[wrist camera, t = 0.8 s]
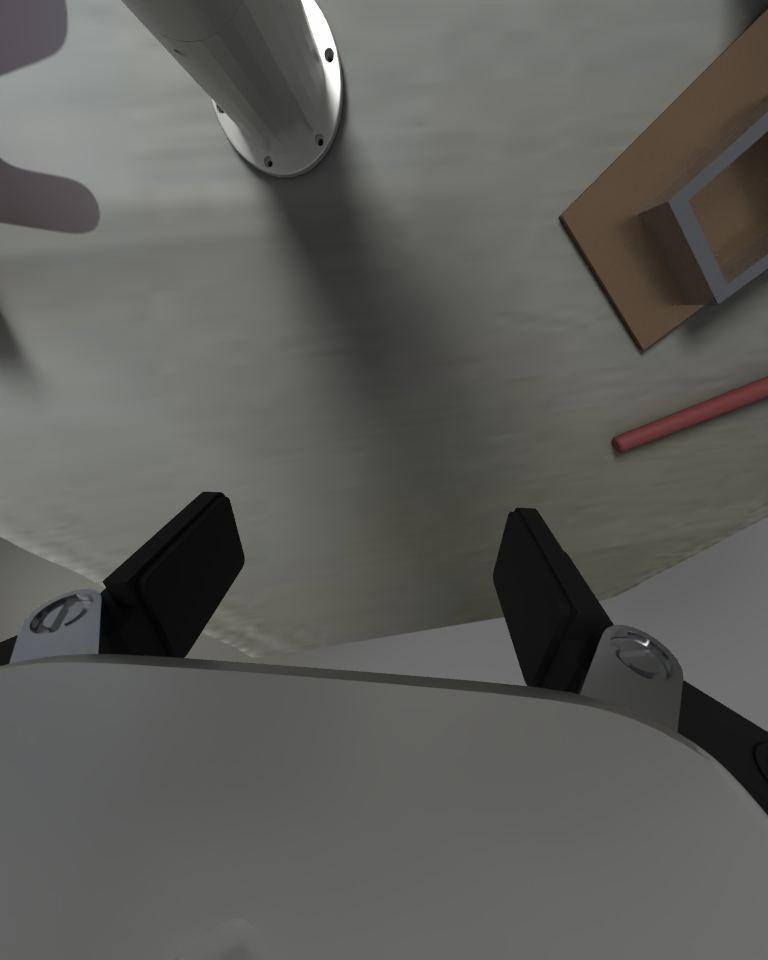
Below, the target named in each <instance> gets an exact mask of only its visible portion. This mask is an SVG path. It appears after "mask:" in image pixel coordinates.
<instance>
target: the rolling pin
mask: <svg viewBox="0 0 768 960" xmlns="http://www.w3.org/2000/svg"><path fill="white" fill-rule="evenodd" d="M766 397H768V376H767V377H765V378H762V379H760V380H757V381H755V382H752V383H750V384H747V385H745V386H742V387H740V388H737V389H735V390H732V391H730V392H727V393H725V394H722V395H719V396H717V397H714V398H712V399H709V400H707V401H704V402H702V403H699V404H697V405H694V406H692V407H689V408H687V409H684V410H682V411H679V412H677V413H674V414H672V415H669V416H666V417H664V418H661V419H659V420H656V421H654V422H651V423H649V424H646V425H644V426H641V427H639V428H636V429H634V430H631V431H629V432H626V433H624V434H621V435H619V436H616V437H614V438H613V440H612V443H613V446H614V448H615V449H616V450H617V451H619V452H624V451H627V450H629V449H632V448H634V447H637V446H640V445H642V444H645V443H648V442H650V441H653V440H655V439H658V438H661V437H663V436H666V435H669V434H671V433H674V432H676V431H679V430H682V429H684V428H687V427H689V426H692V425H695V424H697V423H700V422H703V421H705V420H708V419H710V418H713V417H716V416H718V415H721V414H724V413H726V412H729V411H731V410H734V409H737V408H739V407H742V406H745V405H747V404H750V403H752V402H755V401H758V400H760V399H763V398H766Z"/></svg>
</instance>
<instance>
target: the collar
mask: <svg viewBox="0 0 768 960" xmlns="http://www.w3.org/2000/svg"><path fill="white" fill-rule="evenodd" d="M559 219H560V220H561V222H562V224H563V225H564V227H565V229H566V230H567V232H568V234H569V235H570V237H571V238H572V240H573V242H574V243H575V245H576V247H577V248H578V250H579V251H580V253H581V255H582V256H583V258H584V260H585V261H586V263H587V265H588V266H589V268H590V269H591V271H592V273H593V274H594V276H595V278H596V279H597V281H598V283H599V284H600V286H601V287H602V289H603V291H604V292H605V294H606V296H607V297H608V299H609V300H610V302H611V304H612V305H613V307H614V309H615V310H616V312H617V314H618V315H619V317H620V318H621V320H622V322H623V323H624V325H625V327H626V328H627V330H628V332H629V333H630V335H631V336H632V338H633V340H634V341H635V343H636V345H637V346H638V348H639V349H640V350H645V349H646V348H648V347H649V346H650V345H652V344H653V343H654V342H656V341H657V340H659V339H660V338H661V337H663V336H664V335H665V334H667V333H668V332H669V331H671V330H672V329H673V328H675V327H676V326H677V325H679V324H680V323H681V322H683V321H684V320H685V319H687V318H688V317H689V316H691V315H692V314H693V313H695V312H696V311H697V310H699V309H700V308H702V307H703V306H704V305H718V304H720V303H721V302H723V301H724V300H725V299H727V298H728V297H729V296H731V295H732V294H733V293H735V292H736V291H738V290H739V289H740V288H742V287H743V286H744V285H746V284H747V283H748V282H750V281H751V280H753V279H754V278H755V277H757V276H758V275H759V274H761V273H762V272H763V271H765V270H766V269H768V8H767V9H766V10H765V11H764V12H763V13H762V14H761V15H760V16H759V17H758V18H757V19H756V20H755V21H754V22H753V23H752V24H751V25H750V26H749V27H748V28H747V29H746V30H745V31H744V32H743V33H742V34H741V35H740V36H739V37H738V38H737V39H736V40H735V41H734V42H733V43H732V44H731V45H730V46H729V47H728V48H727V49H726V50H725V51H724V52H723V53H722V54H721V55H720V56H719V57H718V58H717V59H716V60H715V61H714V62H713V63H712V64H711V65H710V66H709V67H708V68H707V69H706V70H705V71H704V72H703V73H702V74H701V75H700V76H699V77H698V78H697V79H696V80H695V81H694V82H693V83H692V84H691V85H690V86H689V87H688V88H687V89H686V90H685V91H684V92H683V93H682V94H681V95H680V96H679V97H678V98H677V99H676V100H675V101H674V102H673V103H672V104H671V105H670V106H669V107H668V108H667V109H666V110H665V111H664V112H663V113H662V114H661V115H660V116H659V117H658V118H657V119H656V120H655V121H654V122H653V123H652V124H651V125H650V126H649V127H648V128H647V129H646V130H645V131H644V132H643V133H642V134H641V135H640V136H639V137H638V138H637V139H636V140H635V141H634V142H633V143H632V144H631V145H630V146H629V147H628V148H627V149H626V150H625V151H624V152H623V153H622V154H621V155H620V156H619V157H618V158H617V159H616V160H615V161H614V162H613V163H612V164H611V165H610V166H609V167H608V168H607V169H606V170H605V171H604V172H603V173H602V174H601V175H600V176H599V177H598V178H597V179H596V180H595V181H594V182H593V183H592V184H591V185H590V186H589V187H588V188H587V189H586V190H585V191H584V192H583V193H582V194H581V195H580V196H579V197H578V198H577V199H576V200H575V201H574V202H573V203H572V204H571V205H570V206H569V207H568V208H567V209H566V210H565V211H564V212H563V213H562V214H561V215H560V216H559Z"/></svg>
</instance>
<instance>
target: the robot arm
mask: <svg viewBox="0 0 768 960" xmlns="http://www.w3.org/2000/svg"><path fill="white" fill-rule="evenodd" d="M122 2H123V3H124V4H125V5H126V6H127V7H128V8H129V9H130V10H131V12H132V13H133V14H134V15H135V16H136V17H137V18H138V19H139V20H140V21H141V22H142V23H143V25H144V26H145V27H146V28H147V29H148V30H149V31H150V32H151V33H152V34H153V35H154V37H155V38H156V39H157V40H158V41H159V42H160V43H161V44H162V45H163V46H164V47H165V48H166V50H167V51H168V52H169V53H170V54H171V55H172V56H173V57H174V58H175V59H176V60H177V61H178V63H179V64H180V65H181V66H182V67H183V68H184V69H185V70H186V71H187V72H188V73H189V74H190V76H191V77H192V78H193V79H194V80H195V81H196V82H197V83H198V84H199V85H200V86H201V87H202V89H203V90H204V91H205V92H206V93H207V94H208V95H209V96H210V98H211V102H212V106H213V109H214V111H215V114H216V116H217V119H218V121H219V124H220V126H221V127H222V129H223V131H224V133H225V134H226V136H227V138H228V140H229V141H230V142H231V144H232V145H233V146H234V147H235V149H236V150H237V151H238V152H239V153H240V154H241V155H242V156H243V157H244V158H245V159H246V160H247V161H248V162H249V163H250V164H252V165H253V166H254V167H255V168H257V169H258V170H260V171H262V172H264V173H266V174H268V175H272V176H275V177H279V178H292V177H295V176H299V175H303V174H304V173H306V172H308V171H310V170H311V169H313V168H314V167H315V166H316V165H317V164H318V163H319V162H320V161H321V160H322V159H323V158H324V156H325V155H326V153H327V152H328V151H329V149H330V147H331V145H332V143H333V141H334V138H335V136H336V134H337V130H338V127H339V123H340V120H341V113H342V105H343V78H342V70H341V62H340V58H339V54H338V50H337V46H336V43H335V40H334V37H333V34H332V31H331V28H330V26H329V24H328V22H327V20H326V18H325V16H324V14H323V12H322V10H321V8H320V7H319V5H318V4H317V3H316V1H315V0H122ZM330 59H333V61H332V62H331V63H329V60H330ZM320 141H323V145H322V146H319V143H320ZM271 162H273V164H272V166H271V167H270V163H271ZM244 561H245V558H244V553H243V549H242V545H241V542H240V538H239V534H238V530H237V526H236V522H235V518H234V514H233V511H232V507H231V503H230V500H229V498H228V497H225V495H224V494H223V493H221V492H202V493H201V494H200V495H199V496H197V497H196V498H195V499H194V500H193V501H192V502H191V503H190V504H189V505H187V506H186V507H185V508H184V509H183V510H182V511H181V512H180V513H179V514H177V515H176V516H175V517H174V518H173V519H172V520H171V521H170V522H168V523H167V524H166V525H165V526H164V527H163V528H162V529H161V530H160V531H158V532H157V533H156V534H155V535H154V536H153V537H152V538H151V539H150V540H148V541H147V542H146V543H145V544H144V545H143V546H142V547H141V548H139V549H138V550H137V551H136V552H135V553H134V554H133V555H132V556H131V557H129V558H128V559H127V560H126V561H125V562H124V563H123V564H122V565H120V566H119V567H118V568H117V569H116V570H115V571H114V572H113V573H112V574H110V575H109V576H108V577H107V578H106V579H105V580H104V581H103V583H104V585H105V587H106V589H105V590H103V591H102V592H101V593H99V592H98V591H96V590H93V589H80V590H75V591H71V592H68V593H65V594H62V595H60V596H58V597H55V598H53V599H51V600H50V601H48V602H46V603H44V604H42V605H41V606H40V607H38V608H37V609H36V610H35V611H33V612H32V613H31V614H30V615H29V616H28V617H27V618H26V619H25V620H24V622H23V624H22V626H21V627H20V630H19V633H18V635H17V636H15V637H12V638H10V639H7V640H5V641H3V642H0V960H768V732H767V731H765V730H763V729H762V728H760V727H758V726H757V725H755V724H754V723H752V722H750V721H749V720H747V719H746V718H744V717H742V716H741V715H739V714H737V713H736V712H734V711H732V710H731V709H729V708H728V707H726V706H724V705H723V704H721V703H720V702H718V701H716V700H715V699H713V698H711V697H710V696H708V695H707V694H705V693H703V692H702V691H700V690H699V689H697V688H695V687H694V686H692V685H690V684H689V683H687V682H686V681H684V680H683V672H682V668H681V666H680V664H679V662H678V660H677V659H676V657H674V655H673V654H672V653H671V652H670V650H669V649H668V648H666V647H665V646H664V645H663V644H662V643H661V642H659V641H658V640H657V639H655V638H654V637H652V636H650V635H649V634H647V633H645V632H643V631H641V630H638V629H636V628H633V627H629V626H625V625H613V623H612V621H611V620H610V618H609V617H608V615H607V614H606V612H605V611H604V609H603V608H602V606H601V605H600V603H599V602H598V600H597V599H596V597H595V595H594V594H593V592H592V591H591V589H590V588H589V586H588V585H587V583H586V582H585V580H584V579H583V577H582V576H581V574H580V572H579V571H578V569H577V568H576V566H575V565H574V563H573V562H572V560H571V559H570V557H569V556H568V555H567V553H566V552H564V551H563V550H562V548H561V546H560V545H559V543H558V542H557V540H556V539H555V537H554V536H553V534H552V532H551V531H550V529H549V528H548V526H547V525H546V523H545V522H544V520H543V519H542V517H541V515H540V514H539V512H538V511H537V510H536V509H532V508H516V509H515V511H514V512H510V513H509V514H508V518H507V522H506V526H505V530H504V533H503V537H502V541H501V545H500V549H499V553H498V557H497V561H496V565H495V568H494V573H493V581H494V585H495V588H496V591H497V595H498V598H499V601H500V604H501V607H502V611H503V614H504V617H505V620H506V623H507V626H508V629H509V632H510V636H511V639H512V642H513V645H514V648H515V652H516V655H517V658H518V661H519V664H520V668H521V671H522V674H523V677H524V680H525V682H526V684H527V686H519V685H508V684H499V683H488V682H478V681H468V680H455V679H444V678H432V677H420V676H409V675H397V674H396V675H395V674H385V673H373V672H359V671H346V670H334V669H322V668H309V667H296V666H282V665H270V664H256V663H242V662H229V661H215V660H202V659H201V660H200V659H188V658H184V657H185V656H186V655H187V654H188V652H189V651H190V649H191V648H192V646H193V645H194V643H195V642H196V640H197V638H198V637H199V635H200V634H201V632H202V631H203V629H204V627H205V626H206V624H207V623H208V621H209V620H210V618H211V616H212V615H213V613H214V612H215V610H216V609H217V607H218V605H219V604H220V602H221V601H222V599H223V598H224V596H225V594H226V593H227V591H228V590H229V588H230V586H231V585H232V583H233V582H234V580H235V579H236V577H237V575H238V574H239V572H240V571H241V569H242V567H243V565H244ZM528 686H529V687H528Z"/></svg>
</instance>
